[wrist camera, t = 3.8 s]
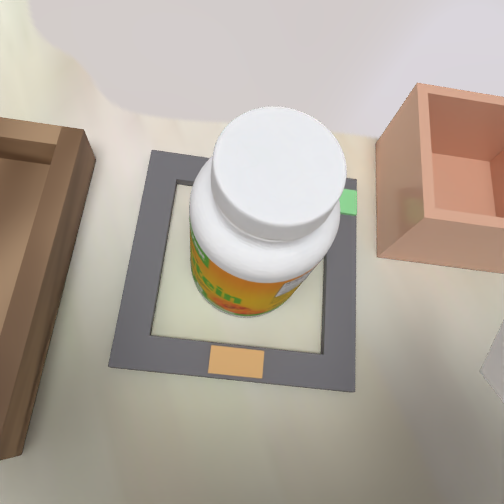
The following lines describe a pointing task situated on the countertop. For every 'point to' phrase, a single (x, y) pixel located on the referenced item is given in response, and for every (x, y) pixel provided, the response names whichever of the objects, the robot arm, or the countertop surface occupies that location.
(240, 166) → the supplement bottle
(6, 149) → the brown rectangular tray
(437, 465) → the countertop surface
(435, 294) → the countertop surface
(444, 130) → the pink open box
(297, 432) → the countertop surface
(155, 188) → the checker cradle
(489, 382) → the robot arm
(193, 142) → the countertop surface
